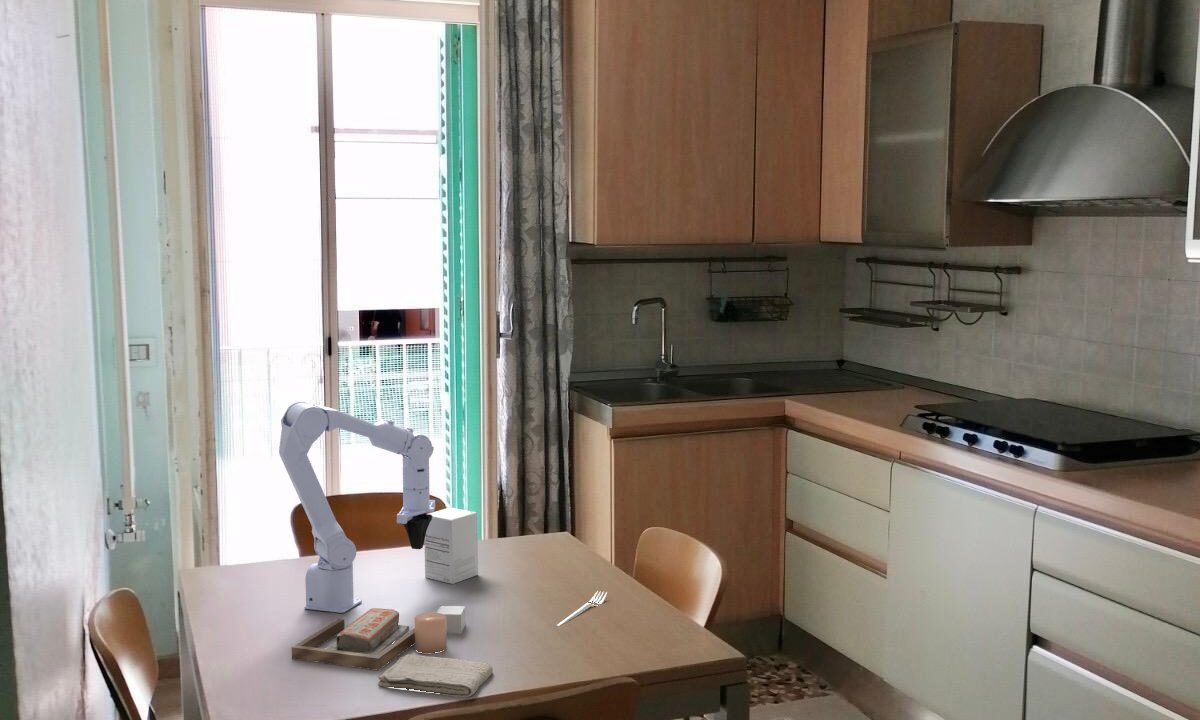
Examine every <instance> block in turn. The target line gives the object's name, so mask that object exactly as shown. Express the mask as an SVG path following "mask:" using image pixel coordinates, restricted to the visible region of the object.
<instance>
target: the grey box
mask: <svg viewBox="0 0 1200 720" xmlns="http://www.w3.org/2000/svg"><path fill="white" fill-rule="evenodd" d="M436 613H441V614H444V615H445V616H446V628H447V634H462V633H463V631H464V629H465V627H466V606H464V605H440V607H439V608H438V609H437V611H436Z"/></svg>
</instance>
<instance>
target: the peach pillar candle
mask: <svg viewBox="0 0 1200 720" xmlns="http://www.w3.org/2000/svg"><path fill="white" fill-rule="evenodd" d="M413 623H414V628H415V644H414V651H415V650H417V651H418V652H422V653H435V652H440V651H443V650H445V649H446V648H447V649H448V645H447V643H448V641H447V638H448V636H447V634H448V633H447V628H446V616H445V615H444V614H441V613H437V612H424V613H420V614H418V615H416V616H415V617H414V622H413ZM447 649H446V650H447ZM446 650H445V651H446ZM418 652H417V653H418ZM443 652H444V651H443ZM440 653H441V652H440Z"/></svg>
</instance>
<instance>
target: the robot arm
mask: <svg viewBox="0 0 1200 720" xmlns="http://www.w3.org/2000/svg"><path fill="white" fill-rule="evenodd" d="M280 423H281V424H280V425H281V431H280V433H281V434H280V440H279V448H278V452H279V453H278V455H279V456H280V460H281V461H282V463H283V466H284V467H285V471H286V473H287V474H288V476H289V479H290V481H291V483H292V485H293V487H294V489H295V490H294V491H295V492H296V494H297V497H298V499H299V501H300V504H301V505H302V507H303V509H304V512H305V514H306V516H307V519H308V521H309V522H310V525H311V529H312V530H311V533H312V536H313V539H314V542H313V548H314V551H315V554H316V555H318V556H319V559H318V562H315V563H312V564H310V565H309V566H308V569H307V570H306V574H305V605H304V606H303V609H305V610H314V611H323V612H330V613H338V614H339V613H340V614H343V613H346V612H347V611H349V610H351V609H352V608H354V607H356V606H357V605H359V604H360V603H362V602H363V601H362V600H363V599H359V598H355V597H354V562H355V561H354V560H355V558H356V556H357V548H356V545H355V543H354V542H353V541H352V540H351V539H350V538H348V537H347V536H346V534H345V531H344V530H343V528H342V527H341V525H340V524H339V523H338V521H337V520H336V517H335V515H334V512H333V511H332V509H331V506H330V504H329V501H328V499H327V496H326V495H325V493H324V491H323V488H322V486H321V484H320V481H319V479H318V476H317V474H316V472H315V470H314V468H313V466H312V464H311V461H310V459H309V456H308V454H309V451H310V449H311V447H312V446H313V444H314V443H315V442H316V441H317V440H318V439H319V438H320V437H321V436H322V434H323V433H324V432H325V431H326V432H332V431H334V430H337V429H340V430H344V431H347V432H350V433H353V434H355V435H356V434H357V435H359V436H362V437H365V438H368V440H369V442H370V444H371V446H373V447H375V448H378V449H381V450H385V451H387V452H390V453H393V454H396V455H401V456H402V503H403V505H402V507H401V510H400V511H399V512H398V513H397V514H396V523H397V524H402V525H403V527H404V529H405V531H406V534H407V537H408V540H409V544H410V548H411V549H413V550H421V549H423V548H424V545H425V543H424V540H425V535H426V531H427V528H428V526H429V523H430V522H431V520H432V515H430V514H429V513H433V512H435V509H436V500H435V499H430V458H431V457H432V455H433V452H434V450H435V449H434V446H433V444H432V441H431V439H430V438H429V437H428V436H427V435H424V434H422V433H419V432H416V431H414V428H411V427H406V428H404V427H403V426H399V425H397V424H395V421H393V420H390V419H389V418H388V419H386V420H379V421H377V422H375V423H372V422H369V421H366V420H365V419H362V418H359V417H357V416H353V415H351V414H348V413H345V412H343V411H341V410H339V409H335V408H332V407H328V406H324V405H318V404H312V405H311V404H310V403H308V402H305V401H295V402H293V403H292V404H290V405H289V406H288V407H287V409H286V410H285V412H284V414H283V416H282V418H281V420H280Z"/></svg>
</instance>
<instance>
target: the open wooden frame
mask: <svg viewBox="0 0 1200 720" xmlns="http://www.w3.org/2000/svg"><path fill="white" fill-rule="evenodd" d="M345 628H346V627H345V619H344V618H338V619H335V620H334V621H332V622H331V623H329V624H328V625H326V626H325V627H322V628H321V629H320V630H318V631H317V632H314V633H313V634H311V635H309V636H308V637H306V638H304V639H303V640H301V641H300V642H298V643H296V644H294V645H293V646H291V660H297V659H299V660H300V661H305V660H309V661H308V662H312V661H318V662H317V663H320V662H324V663H323V664H328V663H331V664H330V665H335V664H338V665H337V666H343V665H345V666H344V667H350V666H354V667H353V668H358V667H361V668H360V669H365V668H369V669H368V670H373V669H377V670H376V671H379V669H380V670H381V669H382V668H384V667H385V666H386V665H387V663H388V662H389V663H391V662H392V661H393V660H395V659H396V658H397V657H398V655H399V654H400V655H401V654H402V652H403V651H404V652H406V651H407V650H408V649H409V647H410V646H411V645H412V646H413V644H414V643H415V627H414V628H413V629H410V631H409V632H406V633H404V635H401V636H400V637H399V638H398V639H397V640H396V641H395V642H394V643H393V644H391V645H390V646H388V647H387V648H386V649H384V650H383V651H381V652H380V653H378V654H377V655H369V654H361V653H353V652H345V651H337V650H330V649H327V648H320V647H319V645H320V646H322V645H323V644H325V643H326V642H327V640H328V641H329V640H331V639H332V638H334V637H337V634H339V633H340V632H341V631H342V630H344V629H345ZM324 642H325V643H324ZM322 643H323V644H322ZM414 645H415V644H414ZM412 646H411V647H412ZM316 647H317V648H316ZM411 647H410V648H411ZM407 648H408V649H407ZM406 649H407V650H406ZM404 652H403V653H404ZM400 655H399V656H400ZM395 657H396V658H395ZM394 658H395V659H394ZM390 661H391V662H390ZM389 663H388V664H389ZM384 665H385V666H384ZM383 666H384V667H383Z"/></svg>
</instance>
